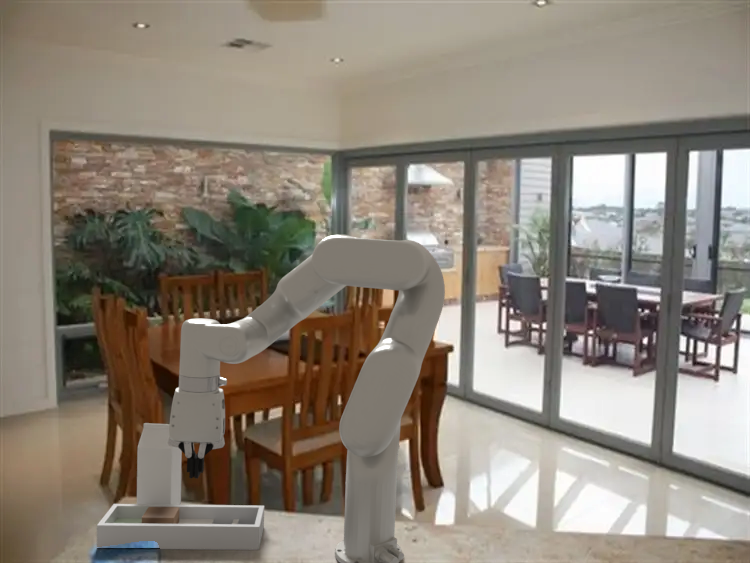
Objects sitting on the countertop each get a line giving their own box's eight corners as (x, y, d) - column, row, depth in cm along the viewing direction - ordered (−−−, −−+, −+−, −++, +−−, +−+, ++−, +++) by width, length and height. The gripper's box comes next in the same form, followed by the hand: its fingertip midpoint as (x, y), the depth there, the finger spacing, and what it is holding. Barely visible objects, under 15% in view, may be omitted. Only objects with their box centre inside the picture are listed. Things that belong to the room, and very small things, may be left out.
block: (179, 521, 136) (179, 507, 136) (173, 532, 131) (173, 517, 131) (148, 521, 136) (148, 506, 136) (141, 532, 131) (141, 517, 131)
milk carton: (170, 519, 142) (172, 429, 140) (136, 518, 142) (137, 428, 141) (180, 506, 149) (182, 420, 148) (148, 504, 149) (149, 418, 148)
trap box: (263, 526, 140) (264, 505, 140) (258, 549, 130) (259, 526, 130) (113, 525, 138) (113, 503, 138) (96, 548, 128) (96, 525, 128)
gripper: (240, 380, 136) (236, 470, 138) (164, 377, 135) (160, 467, 137) (235, 389, 129) (231, 484, 130) (154, 385, 128) (150, 481, 129)
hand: (195, 475), depth 133 cm, fingers closed
